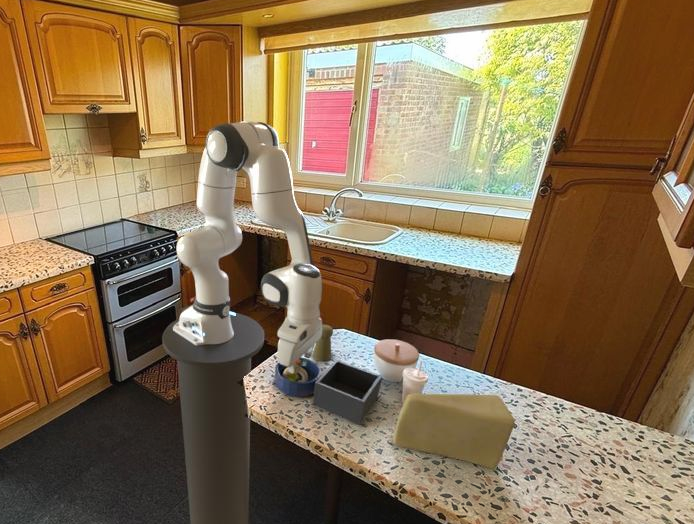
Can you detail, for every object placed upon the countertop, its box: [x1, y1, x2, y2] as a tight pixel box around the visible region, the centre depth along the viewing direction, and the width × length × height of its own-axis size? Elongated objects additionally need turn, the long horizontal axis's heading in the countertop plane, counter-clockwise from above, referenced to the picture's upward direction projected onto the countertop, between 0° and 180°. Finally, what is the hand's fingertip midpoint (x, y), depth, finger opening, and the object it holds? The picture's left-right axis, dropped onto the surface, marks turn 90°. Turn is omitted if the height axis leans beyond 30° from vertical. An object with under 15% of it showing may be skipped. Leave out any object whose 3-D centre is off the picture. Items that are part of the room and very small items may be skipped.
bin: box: [312, 359, 383, 426], centre depth 110 cm, size 14×14×8 cm
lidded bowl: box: [373, 338, 420, 383], centre depth 120 cm, size 13×13×11 cm
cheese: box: [392, 393, 516, 470], centre depth 93 cm, size 22×10×15 cm, turn 80°
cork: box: [312, 324, 334, 362], centre depth 130 cm, size 6×6×11 cm
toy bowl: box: [274, 356, 322, 398], centre depth 118 cm, size 13×13×5 cm
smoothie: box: [401, 360, 429, 405], centre depth 108 cm, size 6×6×14 cm
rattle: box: [283, 359, 308, 382], centre depth 116 cm, size 8×8×12 cm
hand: (300, 364), depth 116 cm, fingers open, 8 cm apart
